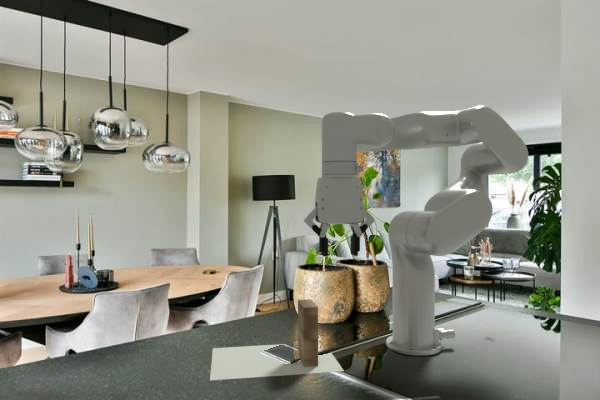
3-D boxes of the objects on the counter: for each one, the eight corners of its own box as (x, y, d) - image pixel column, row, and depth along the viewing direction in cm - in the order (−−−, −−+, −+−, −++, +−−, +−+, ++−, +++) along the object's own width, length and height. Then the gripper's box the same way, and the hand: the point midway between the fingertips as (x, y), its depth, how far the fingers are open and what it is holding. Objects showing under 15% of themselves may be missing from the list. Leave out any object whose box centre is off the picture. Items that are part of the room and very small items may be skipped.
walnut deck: (311, 353, 95) (311, 299, 95) (318, 365, 88) (318, 307, 88) (298, 354, 95) (297, 299, 95) (303, 366, 88) (303, 307, 88)
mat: (323, 343, 103) (323, 341, 103) (344, 373, 86) (344, 370, 86) (212, 350, 99) (212, 348, 99) (209, 382, 81) (209, 380, 81)
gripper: (372, 172, 98) (372, 252, 98) (296, 172, 95) (297, 254, 95) (383, 170, 91) (384, 256, 91) (302, 169, 88) (303, 258, 88)
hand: (339, 254), depth 93 cm, fingers open, 5 cm apart
